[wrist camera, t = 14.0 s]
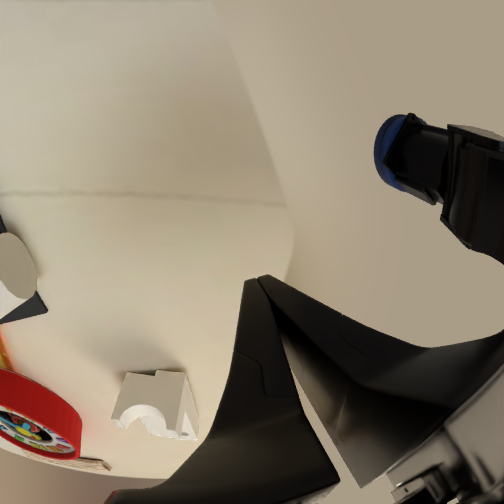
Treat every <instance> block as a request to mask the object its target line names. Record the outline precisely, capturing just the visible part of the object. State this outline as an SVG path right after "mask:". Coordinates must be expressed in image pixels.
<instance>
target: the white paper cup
mask: <svg viewBox="0 0 504 504" xmlns="http://www.w3.org/2000/svg"><path fill="white" fill-rule="evenodd" d="M36 289H37V274H36V268H35V265H34V262H33V259H32V257H31V254H30V253H29V251H28V249H27V248H26V246H25V244H24V243H23V242H22V241H21V240H20V239H19V238H18V237H17V236H15V235H13V234H11V233H2V234H0V319H1V318H2V317H4V316H5V315H7V314H8V313H9V312H11V311H12V310H14V309H15V308H16V307H18V306H19V305H21V304H22V303H24V302H25V301H26V300H28V299H29V298H31V297H32V296H33V295H34V293H35V291H36Z"/></svg>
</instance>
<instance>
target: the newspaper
mask: <svg viewBox="0 0 504 504" xmlns="http://www.w3.org/2000/svg"><path fill="white" fill-rule="evenodd" d="M21 449H22V451H23V452H24V453H25V454H26V455H27V456H29V457H31V458H35V459H39V460H43V461H47V462H51V463H56V464H61V465H66V466H72V467H79V468H85V469H93V470H102V471H111V470H110V469H112V468H110V467H109V466H108V465H107V464H106V463H105V462H104V461H98V460H89V459H81V458H77V459H74V460H58V459H52V458H48V457H44V456H41V455H38V454H35V453H32V452H30V451H27V450H25V449H23V448H21Z"/></svg>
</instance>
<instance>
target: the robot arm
mask: <svg viewBox="0 0 504 504" xmlns="http://www.w3.org/2000/svg"><path fill="white" fill-rule="evenodd" d="M411 117H412V119H411ZM387 161H388V164H387ZM383 165H384V166H385V167H386V168H387V169H388V170H389V171H390V172H391V173H392V174H393V175H394V176H395V177H394V179H395V181H396V182H397V183H398V184H399V185H400V186H401V187H402V188H403V189H404V190H405V191H406V192H407V193H409V194H411V195H413V196H415V197H418V198H419V199H421V200H423V201H425V202H427V203H429V204H431V205H436V203H437V202H439V203H441V204H443V208H442V214H441V217H440V220H441V222H443V224H444V225H445V226H446V227H447V228H448V229H449V230H450V231H451V232H452V233H453V234H454V235H455V236H456V237H457V238H458V239H459V240H460V242H461V243H463V245H465V246H466V247H467V248H468V249H472V250H473V251H476V252H480V253H484V254H486V255H489V256H491V257H493V258H494V259H496V260H497V261H499V262H501V263H502V264H503V265H504V138H503V137H501V136H500V135H498V134H496V133H494V132H491V131H487V130H484V129H480V128H476V127H472V126H463V125H451V124H447V129H443V128H439V127H435V126H431V125H426V124H422V123H421V121H420V120H419V119H418V118H417V116H416V115H415V114H413V113H408V115H407V117H406V118H405V120H404V122H403V124H402V126H401V128H400V130H399V132H398V133H397V135H396V137H395V139H394V141H393V143H392V144H391V146H390V148H389V150H388V151H387V153H386V155H385V157H384V159H383ZM289 365H290V366H289ZM290 367H291V369H292V371H293V372H294V374H295V376H296V378H297V380H298V381H299V383H300V385H301V387H302V389H303V390H304V392H305V394H306V396H307V397H308V399H309V401H310V403H311V405H312V406H313V408H314V410H315V412H316V413H317V415H318V417H319V419H320V420H321V422H322V424H323V426H324V427H325V429H326V431H327V433H328V434H329V436H330V437H331V439H332V441H333V443H334V445H335V446H336V448H337V450H338V452H339V453H340V455H341V457H342V458H343V460H344V462H345V463H346V465H347V467H348V468H349V470H350V472H351V473H352V475H353V477H354V478H355V480H356V482H357V483H358V485H359V487H360V488H363V487H365V486H367V485H369V484H371V483H373V482H375V481H377V480H379V479H380V478H382V477H384V476H386V475H387V476H388V478H389V479H390V481H391V483H392V485H393V487H394V488H395V490H393V491H392V492H391V493H392V495H393V497H394V499H395V501H396V503H394V504H447V502H449V501H451V500H453V499H454V498H457V499H458V501H459V502H458V503H456V504H504V329H503V330H502V331H501V332H499V333H497V334H495V335H492V336H490V337H486V338H483V339H478V340H473V341H468V342H463V343H458V344H453V345H447V346H440V347H433V348H426V347H420V346H416V345H413V344H410V343H408V342H405V341H402V340H400V339H397V338H395V337H392V336H389V335H387V334H384V333H382V332H379V331H377V330H374V329H372V328H370V327H367V326H365V325H363V324H361V323H359V322H357V321H355V320H353V319H351V318H349V317H347V316H345V315H342V314H341V313H340V312H338V311H336V310H334V309H332V308H330V307H328V306H326V305H324V304H323V303H321V302H319V301H317V300H315V299H313V298H311V297H309V296H308V295H306V294H304V293H302V292H300V291H298V290H297V289H295V288H293V287H291V286H289V285H287V284H286V283H284V282H282V281H280V280H278V279H276V278H275V277H273V276H271V275H268V274H267V275H263V276H260V277H258V278H257V279H256V278H253V279H249V280H246V281H245V282H244V286H243V293H242V299H241V305H240V312H239V318H238V325H237V331H236V337H235V344H234V351H233V356H232V362H231V367H230V372H229V376H228V379H227V383H226V386H225V389H224V392H223V395H222V398H221V401H220V404H219V407H218V410H217V413H216V416H215V419H214V422H213V424H212V427H211V429H210V431H209V433H208V435H207V437H206V439H205V440H204V441H203V443H202V444H201V445H200V446H199V447H198V448H197V449H196V450H195V452H194V453H193V454H192V455H191V456H190V457H189V458H188V459H187V460H186V461H185V462H184V463H183V464H182V465H181V467H180V468H179V469H178V470H177V471H176V472H175V473H174V474H173V475H172V476H171V477H170V478H169V479H167V480H166V481H165V482H163V483H161V484H159V485H157V486H154V487H151V488H145V489H118V490H115V491H113V492H112V493H111V494H110V496H109V497H108V498H107V500H106V501H105V502H104V504H318V503H319V502H320V501H321V500H323V499H324V498H325V497H326V496H327V495H328V494H329V493H330V492H331V491H332V490H333V489H334V488H335V486H337V485H338V484H339V483H340V478H339V475H338V473H337V471H336V469H335V467H334V465H333V463H332V462H331V460H330V458H329V457H328V455H327V453H326V452H325V449H324V448H323V446H322V444H321V443H320V441H319V439H318V437H317V435H316V433H315V431H314V430H313V428H312V426H311V424H310V422H309V420H308V419H307V417H306V415H305V413H304V410H303V407H302V404H301V401H300V399H299V395H298V392H297V389H296V385H295V382H294V379H293V375H292V372H291V369H290Z"/></svg>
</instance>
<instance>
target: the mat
mask: <svg viewBox="0 0 504 504" xmlns="http://www.w3.org/2000/svg"><path fill="white" fill-rule="evenodd" d="M2 233H7V231H6V228H5V226H4V224H3V221H2V218H1V216H0V234H2ZM47 312H48V309H47V308H46V306H45V305H44V303H43V301H42V300H41V298H40V296H39V295H38V293H37V291H35V293H34V295H33V296H32V297H31V298H29V299H28V300H26V301H25V302H24V303H22V304H21V305H19V306H18V307H16V308H15V309H14V310H12V311H11V312H9V313H8V314H7V315H5V316H4V317H2V318H1V319H0V324H3V323H7V322H12V321H16V320H20V319H24V318H28V317H32V316H36V315H40V314H44V313H47Z"/></svg>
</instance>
